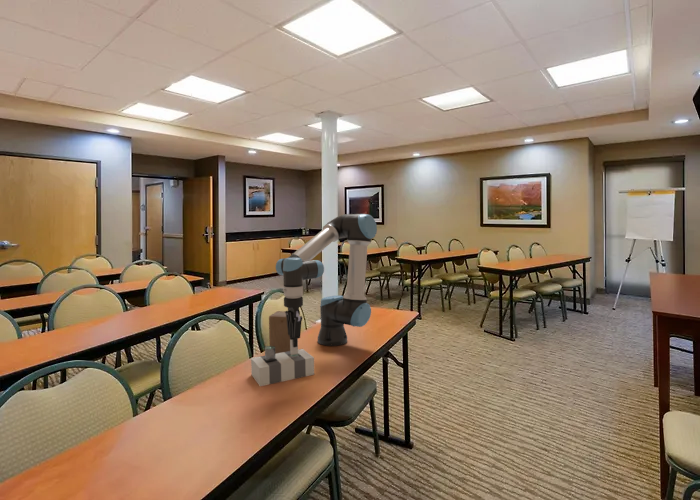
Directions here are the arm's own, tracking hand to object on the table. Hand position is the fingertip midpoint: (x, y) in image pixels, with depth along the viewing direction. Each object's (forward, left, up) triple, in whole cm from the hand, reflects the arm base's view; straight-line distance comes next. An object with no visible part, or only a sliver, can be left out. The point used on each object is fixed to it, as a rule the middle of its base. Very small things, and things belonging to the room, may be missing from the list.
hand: (294, 353), depth 155 cm
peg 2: (0, 0, -7) cm, 7 cm away
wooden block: (-2, -19, -8) cm, 21 cm away
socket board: (+5, 0, -8) cm, 9 cm away
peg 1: (+10, 0, -3) cm, 10 cm away
